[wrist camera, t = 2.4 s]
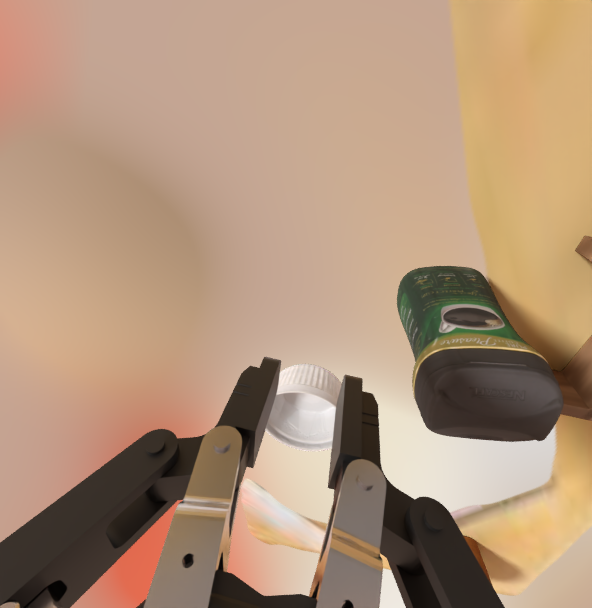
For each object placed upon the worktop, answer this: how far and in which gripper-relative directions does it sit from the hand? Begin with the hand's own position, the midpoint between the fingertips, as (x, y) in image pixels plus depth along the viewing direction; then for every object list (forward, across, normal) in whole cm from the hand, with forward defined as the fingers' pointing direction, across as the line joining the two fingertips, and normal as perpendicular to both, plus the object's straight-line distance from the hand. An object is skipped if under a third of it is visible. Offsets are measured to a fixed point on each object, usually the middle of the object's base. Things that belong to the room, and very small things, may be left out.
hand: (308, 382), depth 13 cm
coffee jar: (+25, -13, +7) cm, 29 cm away
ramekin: (+25, 0, +28) cm, 38 cm away
